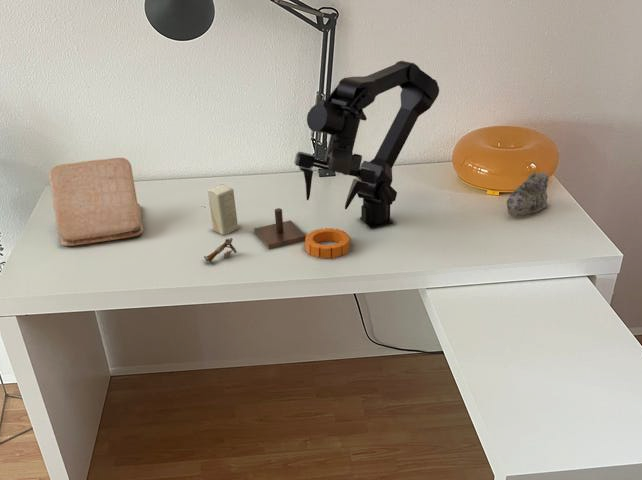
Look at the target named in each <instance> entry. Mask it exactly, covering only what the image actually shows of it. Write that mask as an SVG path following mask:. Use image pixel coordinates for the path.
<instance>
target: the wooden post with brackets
mask: <svg viewBox="0 0 642 480" xmlns="http://www.w3.org/2000/svg"><path fill="white" fill-rule="evenodd" d="M233 240H234V239H233V237H230V238H229V237H228V238H226V239H225V241H224V242H223V243H222V244H220V245H219V246H218V247H217V248H216V249H215V250H214V251H213V252H211V253H210V254H208V255H203V258H204V260H206V262H207V263H208V264H209V265H212V261H213V260H214V259H215V258H216V256H218V255H220V253H222V252H223V251H224V250H225V249H226V248H229V249H230V250H226V252H224V253H223V255H222V257H223V258H224V259H225V258H229V256H231V254H232V252H233V253H235V254H236V253H237V252H238V251H237V249H236V247H234V245H233V244H232V243H233Z"/></svg>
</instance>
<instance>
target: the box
mask: <svg viewBox="0 0 642 480" xmlns="http://www.w3.org/2000/svg"><path fill="white" fill-rule="evenodd" d="M207 195H208V201H209V209H210V215H211V223H212V230H213V231H214V232H216V233H218V234H220V235H222V236H224V235H225V236H226V235H228V234H230V233H232V232H234V231H236V230H238V229H239V224H238V216H237V214H238V213H237V208H236V200H235V191H234V188H233V187H230V186H228V185H226V184H220V185H217V186H215V187H213V188H210V189H208V190H207Z"/></svg>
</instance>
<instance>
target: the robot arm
mask: <svg viewBox="0 0 642 480" xmlns="http://www.w3.org/2000/svg"><path fill="white" fill-rule="evenodd" d="M397 87H399V88H400V89H401V91H400V107H399V109H398V111H397V114H396V116H395V117H394V119H393V121H392V123H391V125H390V127H389V129H388V131H387V133H386V135H385V136H384V138H383V141H382V143H381V145H380V147H379V149H378V150H377V152H376V154H375V156H374V157H373V158H372V159H371V160H370V161H367V160H363V155H362V154H358V153H353V151H354V146H355V144H356V138H357V136H358V131H359V126H360V123H361V121H364V122H365V121H367V120H368V117H367V115H366V114H365V112H364V109H367V107H369V106H370V105H371V104H373V103H374V102H375V100H376V97H378V96H379V95H381V94H383V93H386V92H388V91H390V90H392V89H395V88H397ZM439 94H440V86H439V84H438V81H437V80H436V79H434V78H433V77H432V76H430V75H429V74H428V73H426V72H425V71H424V70H422V69H421V68H420V66H419V65H417V64H416V63H415V62H410V61H405V60H400V61H397V62H395V64H393V65H390V66H387V67H385V68H383V69H380V70H378V71H376V72H373V73H370V74H368V75H365V76H348V77H347V76H346V77H344V78H342V79H340V80H339V82H338V84H337V86H336V87H335V88H334V89H333V91H332V92H331V93H330V94H329V96H327V98H326V99H321V98H318V100H317V103H316V104H315V105H313V106H312V107H311V108H310V109H309V111H308V112H307V115H306V123H307V127H308V128H309V129H310V130H311V131H312V132H315V133H320V134H325V135H326V134H327V135H330V136H329V141H328V145H327V149H326V153H325V156H324V160H323V159H318V158H316V157H315V155H314V154H311V153H306V152H303V151H298V152H296V154H295V158H294V165H295V166H297V167H298V168H299V169H298V170H300V171H301V172H303V176H304V183H305V195H306V196H305V197H306V198H305V199H306V201H309V200H310V197H311V190H312V182H313V174H314V170H313V168H314V167H315V168H318V169H323V170H327V171H330V172H331V173H339V174H342V175H344V176H351V177H355V178H353V179H352V182H351V185H350V188H349V191H348V194H347V197H346V200H345V203H344V204H345V205H344V210H348V208H349V206H350V205H351V203H352V201H353V200H354V198H355V197H356V195H357V197H358V198H359V199H362V205H361V207H360V208H361V209H360V210H361V211H360V212H361V213H360V215H361V216H360V217H359V220H360V221H361V222H363V223H364V225H366V226H367V227H368V228H370V229H375V228H381V227H384V226H388V225H393V224H394V221H393V220H392V219H391V205H393V202H395V201H396V200H397V196H398V191H396V190H395V189H394V187H392V183H393V167H394V166H395V163H396V161H397V159H398V157H399V155H400V154H401V151H402V150H403V148H404V146H405V144H406V142H407V140H408V138H409V136H410V134H411V132H412V130H413V128H414V126H415V124H416V123H417V121H418V118H419V116H421V115H423V114H425V112H427V111H428V110H430V109H431V107H432V106H433V104H434V103H435V102H436V100H437V98H438V96H439ZM362 160H363V161H362Z"/></svg>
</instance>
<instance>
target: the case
mask: <svg viewBox="0 0 642 480" xmlns="http://www.w3.org/2000/svg"><path fill="white" fill-rule="evenodd" d="M48 177H49V178H48V179H49V184H50V192H51V198H52V199H51V200H52V205H53V211H54V218H55V225H56V231H57V235H58V236H59V238H60V240H61V241H60V243H61V244H62V246H65V247H75V246H80V245H81V246H82V245H88V244H95V243H100V242H101V243H102V242H107V241H115V240H121V239H128V238H135V237H138V236H140V235H142V234H143V231H144V230H143V221H142V214H141V205H140V203H138V199H137V192H136V187H135V181H134V175H133V168H132V165H131V162H130V161H129V160H128V159H127V158H125V157H113V158H105V159H104V158H103V159H94V160H93V159H92V160H86V161H85V160H84V161H78V162H73V163H64V164H58V165H55V166H53V167H52V168H51V169H50V170H49V172H48Z"/></svg>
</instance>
